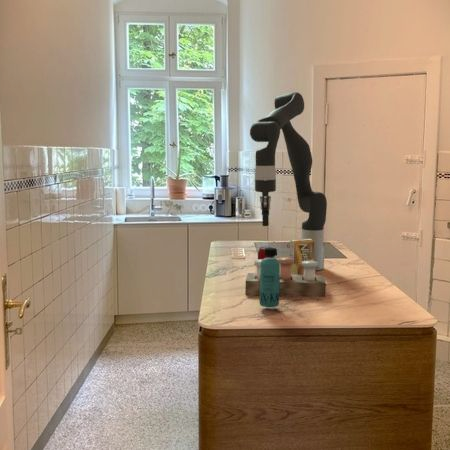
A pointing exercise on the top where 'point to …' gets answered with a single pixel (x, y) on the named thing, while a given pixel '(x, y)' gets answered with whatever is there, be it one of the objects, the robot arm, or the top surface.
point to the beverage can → (261, 253)
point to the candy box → (301, 254)
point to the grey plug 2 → (309, 269)
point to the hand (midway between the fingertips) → (265, 225)
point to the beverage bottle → (269, 279)
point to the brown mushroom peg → (285, 267)
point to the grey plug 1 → (258, 268)
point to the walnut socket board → (291, 286)
